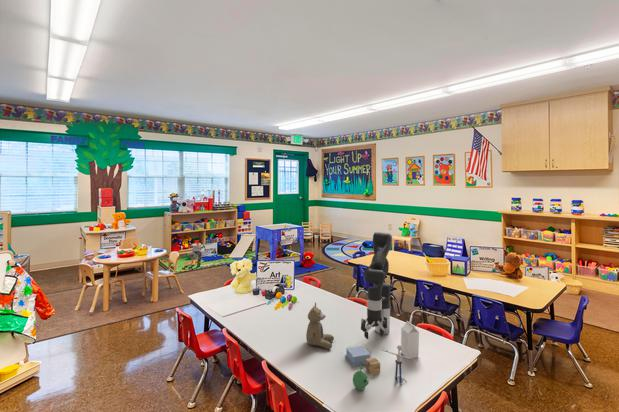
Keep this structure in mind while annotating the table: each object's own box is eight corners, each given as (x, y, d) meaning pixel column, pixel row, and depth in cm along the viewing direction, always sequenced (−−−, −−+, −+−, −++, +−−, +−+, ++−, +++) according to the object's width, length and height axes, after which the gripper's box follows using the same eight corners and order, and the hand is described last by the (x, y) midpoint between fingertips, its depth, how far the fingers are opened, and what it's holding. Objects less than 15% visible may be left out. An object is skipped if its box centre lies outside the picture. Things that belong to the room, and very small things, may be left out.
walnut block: (365, 368, 170) (365, 358, 169) (375, 367, 171) (375, 357, 171) (370, 374, 164) (370, 364, 164) (380, 372, 166) (380, 362, 166)
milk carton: (407, 359, 179) (408, 326, 178) (400, 352, 186) (401, 321, 185) (418, 357, 181) (419, 325, 180) (411, 351, 188) (412, 319, 187)
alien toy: (367, 395, 148) (367, 374, 147) (351, 391, 151) (351, 371, 150) (369, 386, 154) (370, 366, 154) (354, 382, 157) (354, 363, 157)
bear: (330, 354, 184) (331, 312, 183) (303, 351, 188) (304, 310, 186) (334, 337, 205) (335, 300, 203) (310, 335, 208) (311, 297, 206)
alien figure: (421, 385, 155) (422, 347, 154) (418, 391, 150) (419, 352, 149) (382, 372, 166) (383, 336, 165) (378, 377, 162) (379, 340, 161)
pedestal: (344, 356, 182) (345, 347, 182) (362, 353, 185) (362, 344, 185) (353, 366, 171) (353, 357, 171) (371, 363, 175) (371, 354, 174)
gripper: (382, 303, 171) (382, 332, 172) (358, 306, 167) (358, 335, 168) (390, 308, 164) (389, 338, 165) (365, 311, 160) (365, 342, 161)
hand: (373, 337), depth 167 cm, fingers open, 8 cm apart
